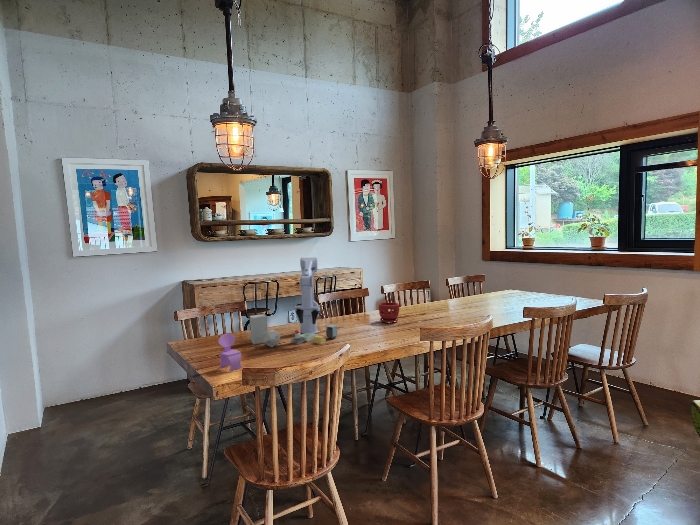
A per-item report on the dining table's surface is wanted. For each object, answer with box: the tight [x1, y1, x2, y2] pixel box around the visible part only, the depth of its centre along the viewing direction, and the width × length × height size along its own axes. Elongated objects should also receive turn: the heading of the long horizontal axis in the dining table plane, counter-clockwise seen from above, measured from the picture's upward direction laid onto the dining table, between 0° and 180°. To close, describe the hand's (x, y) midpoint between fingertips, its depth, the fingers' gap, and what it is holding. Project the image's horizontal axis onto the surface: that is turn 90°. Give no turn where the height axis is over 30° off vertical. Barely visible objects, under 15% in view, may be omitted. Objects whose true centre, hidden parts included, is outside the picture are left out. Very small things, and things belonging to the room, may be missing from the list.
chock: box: [313, 335, 327, 345], centre depth 223 cm, size 5×4×4 cm
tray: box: [300, 333, 317, 343], centre depth 229 cm, size 7×7×2 cm
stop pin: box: [294, 329, 301, 340], centre depth 224 cm, size 3×3×6 cm
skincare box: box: [249, 313, 269, 345], centre depth 226 cm, size 8×6×15 cm
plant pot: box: [378, 301, 400, 323], centre depth 268 cm, size 13×13×12 cm
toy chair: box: [217, 333, 243, 372], centre depth 183 cm, size 8×9×15 cm
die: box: [263, 329, 281, 348], centre depth 218 cm, size 8×9×10 cm
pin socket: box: [290, 337, 306, 345], centre depth 224 cm, size 5×5×2 cm
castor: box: [325, 324, 338, 340], centre depth 231 cm, size 5×6×7 cm
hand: (307, 323), depth 224 cm, fingers open, 7 cm apart
